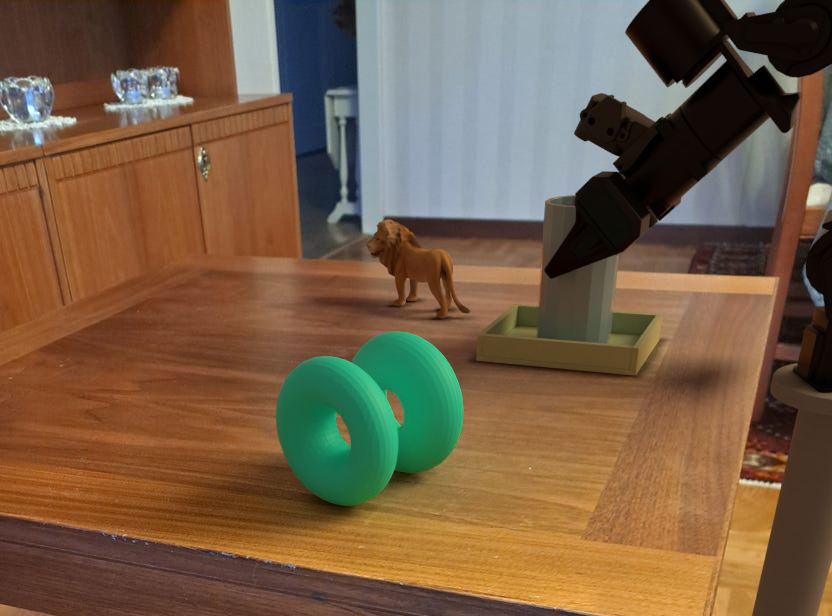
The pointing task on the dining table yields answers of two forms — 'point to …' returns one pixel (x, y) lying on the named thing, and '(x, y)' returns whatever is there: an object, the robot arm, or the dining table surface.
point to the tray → (569, 343)
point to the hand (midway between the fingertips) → (561, 264)
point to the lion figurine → (414, 265)
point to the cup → (573, 285)
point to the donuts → (369, 417)
